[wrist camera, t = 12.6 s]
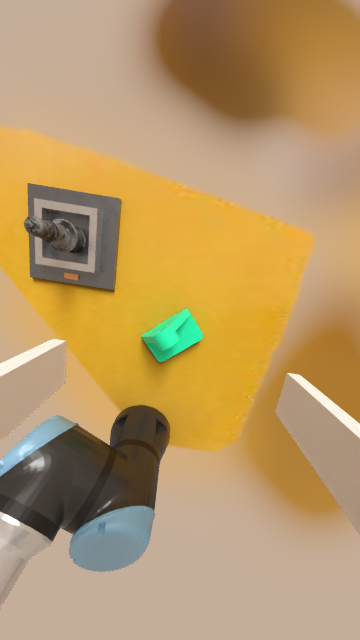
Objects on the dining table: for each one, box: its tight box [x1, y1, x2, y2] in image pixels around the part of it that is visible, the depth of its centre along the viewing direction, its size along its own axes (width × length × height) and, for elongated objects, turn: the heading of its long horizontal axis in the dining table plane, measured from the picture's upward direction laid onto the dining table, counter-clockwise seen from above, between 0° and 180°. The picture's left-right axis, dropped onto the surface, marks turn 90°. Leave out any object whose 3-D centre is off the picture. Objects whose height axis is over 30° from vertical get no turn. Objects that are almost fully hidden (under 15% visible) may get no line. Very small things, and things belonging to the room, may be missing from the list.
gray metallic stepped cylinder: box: [24, 216, 86, 253], centre depth 32 cm, size 6×6×12 cm
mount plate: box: [28, 183, 121, 290], centre depth 37 cm, size 18×18×4 cm
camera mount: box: [141, 308, 203, 362], centre depth 39 cm, size 12×8×10 cm, turn 122°
